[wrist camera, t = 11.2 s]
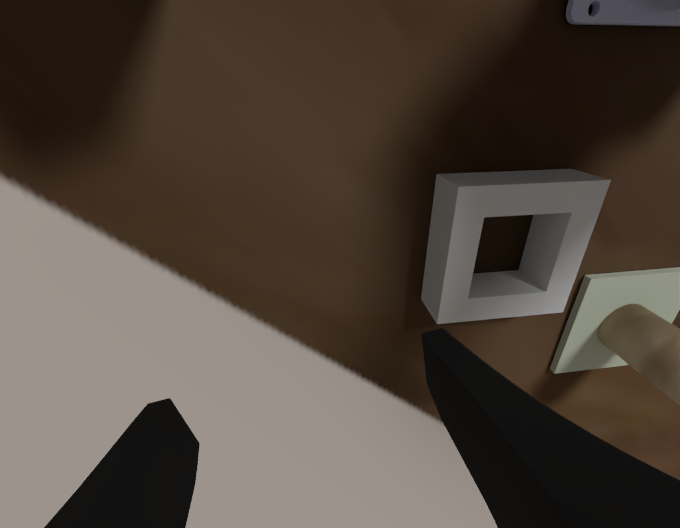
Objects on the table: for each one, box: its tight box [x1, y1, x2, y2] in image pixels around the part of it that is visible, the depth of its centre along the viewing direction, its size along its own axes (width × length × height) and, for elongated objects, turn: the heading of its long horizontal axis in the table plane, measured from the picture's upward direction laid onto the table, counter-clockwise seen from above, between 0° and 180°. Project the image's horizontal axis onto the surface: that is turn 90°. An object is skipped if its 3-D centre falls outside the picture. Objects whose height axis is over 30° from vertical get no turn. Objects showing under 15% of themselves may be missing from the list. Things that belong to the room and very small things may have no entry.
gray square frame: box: [421, 169, 611, 324], centre depth 18 cm, size 8×8×2 cm
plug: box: [598, 304, 680, 405], centre depth 21 cm, size 4×4×6 cm
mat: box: [550, 267, 680, 374], centre depth 24 cm, size 8×8×1 cm
